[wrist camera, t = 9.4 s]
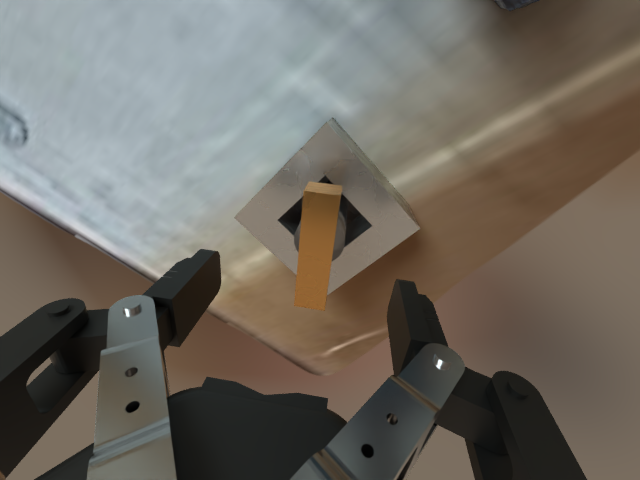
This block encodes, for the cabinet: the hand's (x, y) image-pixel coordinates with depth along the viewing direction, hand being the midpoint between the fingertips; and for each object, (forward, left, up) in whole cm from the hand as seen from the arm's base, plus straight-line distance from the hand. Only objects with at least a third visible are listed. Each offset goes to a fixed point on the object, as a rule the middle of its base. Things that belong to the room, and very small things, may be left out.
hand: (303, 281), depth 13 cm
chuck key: (0, 0, -11) cm, 11 cm away
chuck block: (0, 0, -12) cm, 12 cm away
